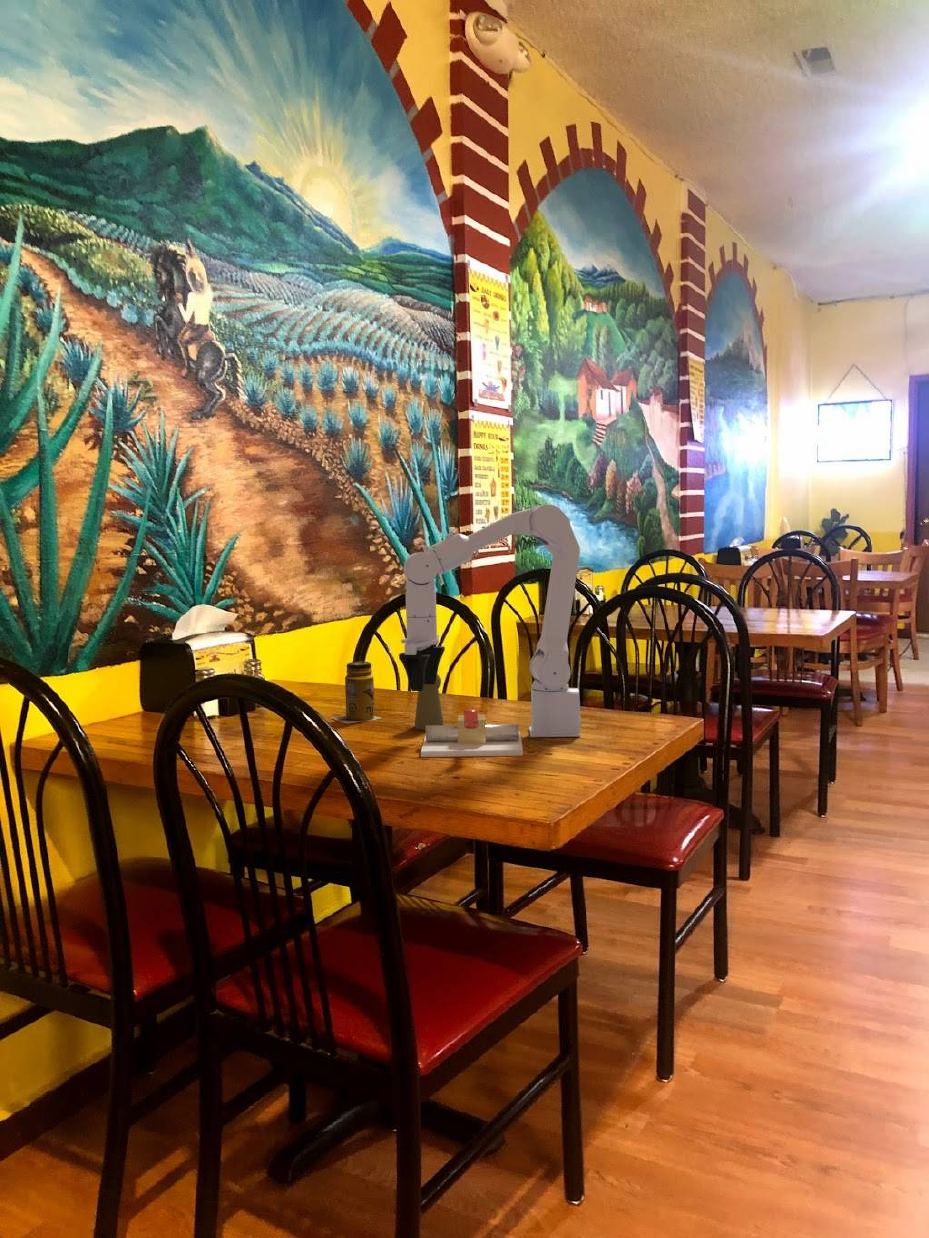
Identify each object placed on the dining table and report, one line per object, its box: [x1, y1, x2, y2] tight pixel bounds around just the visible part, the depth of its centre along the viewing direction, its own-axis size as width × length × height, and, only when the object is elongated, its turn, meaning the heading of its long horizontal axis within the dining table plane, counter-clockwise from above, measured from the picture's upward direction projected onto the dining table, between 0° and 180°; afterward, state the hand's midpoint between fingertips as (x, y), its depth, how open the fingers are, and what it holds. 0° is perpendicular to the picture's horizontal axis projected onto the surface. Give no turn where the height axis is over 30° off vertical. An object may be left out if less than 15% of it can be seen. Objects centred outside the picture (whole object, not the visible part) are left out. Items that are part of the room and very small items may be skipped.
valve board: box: [420, 731, 524, 758], centre depth 178 cm, size 18×15×1 cm
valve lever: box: [463, 708, 479, 729], centre depth 173 cm, size 11×2×3 cm, turn 179°
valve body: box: [425, 714, 520, 744], centre depth 178 cm, size 17×5×4 cm, turn 89°
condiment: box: [331, 661, 382, 724], centre depth 205 cm, size 7×8×12 cm
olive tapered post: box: [413, 673, 445, 731], centre depth 196 cm, size 6×6×11 cm
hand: (423, 687), depth 184 cm, fingers open, 7 cm apart
